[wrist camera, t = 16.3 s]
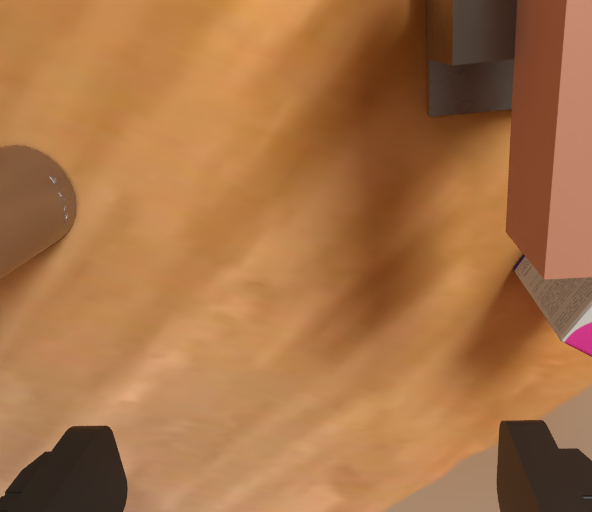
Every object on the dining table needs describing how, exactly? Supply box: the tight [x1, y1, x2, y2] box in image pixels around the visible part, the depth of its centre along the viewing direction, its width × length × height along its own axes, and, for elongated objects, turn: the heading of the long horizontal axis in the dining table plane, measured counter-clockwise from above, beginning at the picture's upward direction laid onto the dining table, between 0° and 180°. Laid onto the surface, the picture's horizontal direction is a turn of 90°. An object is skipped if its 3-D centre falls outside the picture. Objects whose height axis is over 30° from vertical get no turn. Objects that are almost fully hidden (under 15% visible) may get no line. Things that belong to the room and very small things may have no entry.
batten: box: [506, 0, 592, 279], centre depth 24 cm, size 4×24×7 cm, turn 6°
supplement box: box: [513, 254, 592, 357], centre depth 38 cm, size 6×6×12 cm
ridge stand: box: [426, 0, 517, 117], centre depth 33 cm, size 10×12×11 cm
